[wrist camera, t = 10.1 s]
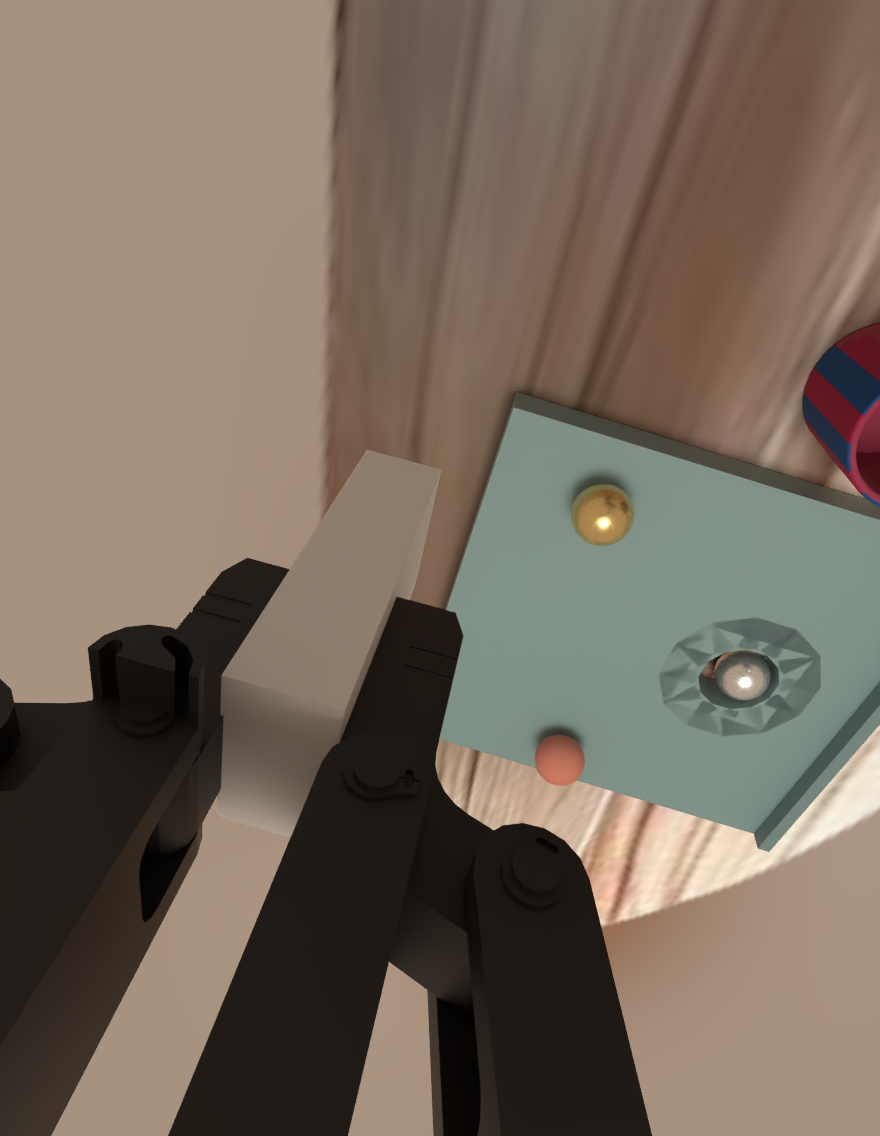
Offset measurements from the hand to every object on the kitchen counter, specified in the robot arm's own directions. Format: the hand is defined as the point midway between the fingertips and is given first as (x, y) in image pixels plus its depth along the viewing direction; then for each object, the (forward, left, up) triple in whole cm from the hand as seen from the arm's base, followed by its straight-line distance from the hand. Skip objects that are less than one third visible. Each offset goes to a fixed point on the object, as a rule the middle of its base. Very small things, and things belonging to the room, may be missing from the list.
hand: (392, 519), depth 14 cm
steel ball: (+17, +21, -23) cm, 36 cm away
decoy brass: (+8, +9, -21) cm, 24 cm away
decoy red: (+26, +13, -21) cm, 35 cm away
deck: (+17, +16, -25) cm, 34 cm away
